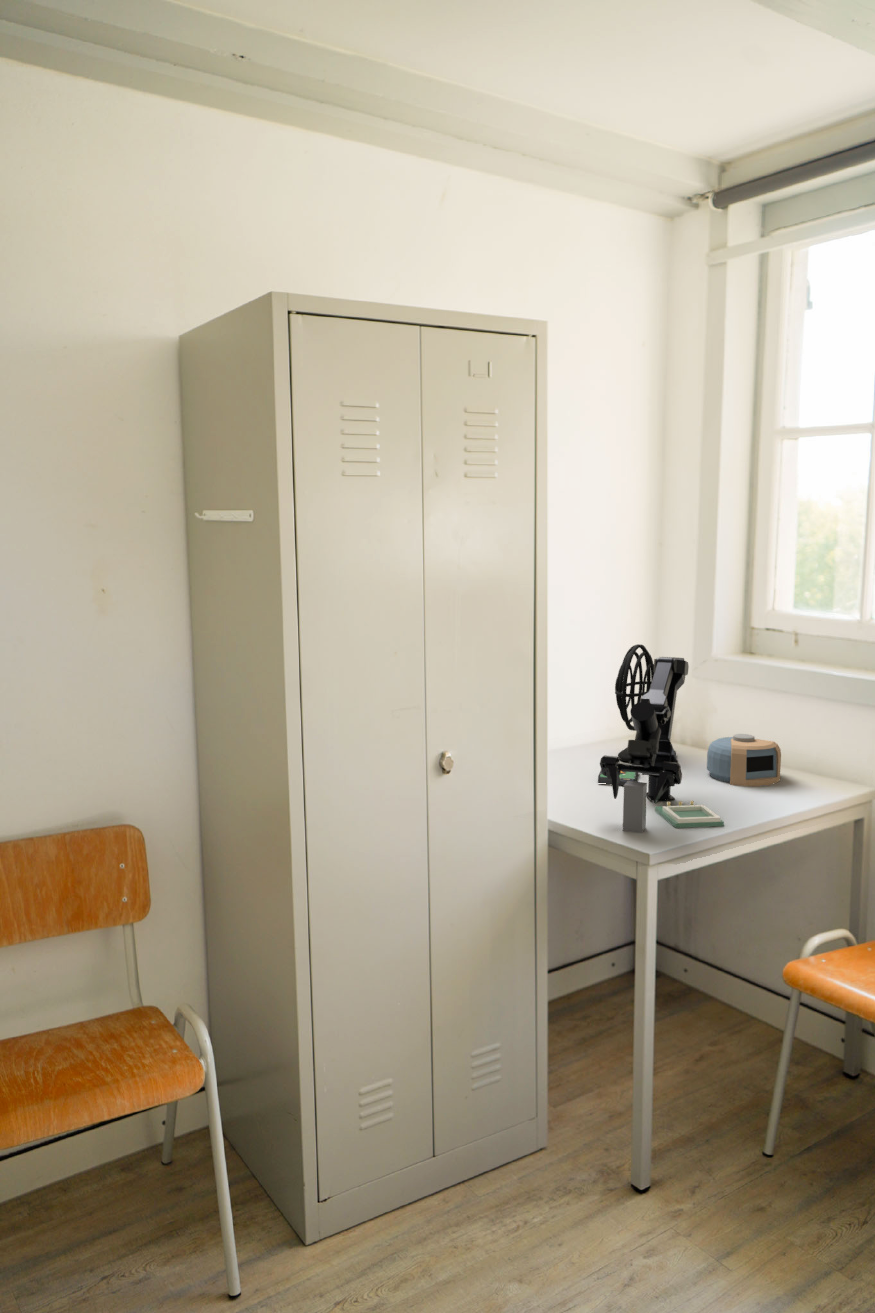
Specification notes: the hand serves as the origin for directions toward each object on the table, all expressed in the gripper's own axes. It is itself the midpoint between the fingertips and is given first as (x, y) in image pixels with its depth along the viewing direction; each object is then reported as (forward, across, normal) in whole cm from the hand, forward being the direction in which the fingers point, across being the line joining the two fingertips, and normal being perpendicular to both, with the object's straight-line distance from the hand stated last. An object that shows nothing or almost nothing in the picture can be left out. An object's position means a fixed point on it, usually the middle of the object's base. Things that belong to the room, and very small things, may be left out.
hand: (634, 800), depth 223 cm
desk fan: (-47, -13, +57) cm, 75 cm away
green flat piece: (-6, +10, +16) cm, 19 cm away
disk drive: (-26, -14, +37) cm, 48 cm away
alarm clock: (-38, +17, +48) cm, 64 cm away
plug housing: (+4, 0, +6) cm, 7 cm away
